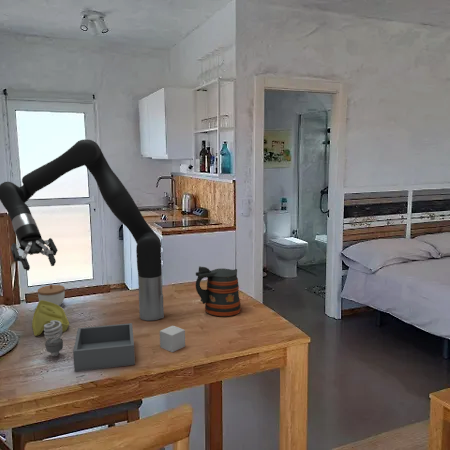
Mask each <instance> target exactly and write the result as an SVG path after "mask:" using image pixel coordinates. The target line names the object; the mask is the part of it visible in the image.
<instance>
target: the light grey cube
mask: <svg viewBox="0 0 450 450" xmlns="http://www.w3.org/2000/svg"><path fill="white" fill-rule="evenodd" d="M185 347H186V330H185V329H184V328H180V327H178V326H175V325H170V326H168V327H166V328H163V329H161V330H159V348H160V349H164V350H165V351H168V352H171V353H174V352H176V351H178V350H180V349H183V348H185Z"/></svg>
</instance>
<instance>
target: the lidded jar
mask: <svg viewBox="0 0 450 450" xmlns="http://www.w3.org/2000/svg"><path fill="white" fill-rule="evenodd" d="M65 289H66V288H65V286H63V285H60V284H48V285H45V286H41V287H40V288H38V289H37V295H38V302H39V301H41V300H44V301H48V302H51V303H54V304H57V305H59V306H60V307H61V305H62V304H63V302H64V300H65V295H66V294H65V293H66V292H65V291H66V290H65Z"/></svg>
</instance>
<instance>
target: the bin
mask: <svg viewBox="0 0 450 450" xmlns="http://www.w3.org/2000/svg"><path fill="white" fill-rule="evenodd" d="M133 331H134V330H133V322H130V323H119V324H108V325H107V324H106V325H97V326H86V327H78V328H77V330H76V336H75V341H74V345H73V351H72V354H73V355H72V356H73V369H74V370H73V372H82V371H90V370H98V369H99V370H101V369H109V368H116V367H117V368H118V367H125V366H134V365H136V361H135V360H136V359H135V341H134V338H135V337H134V332H133Z"/></svg>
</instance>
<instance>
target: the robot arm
mask: <svg viewBox="0 0 450 450" xmlns="http://www.w3.org/2000/svg"><path fill="white" fill-rule="evenodd" d="M83 166H85V167H86V169H87V170H88V171H89V172H90V174H91V176H93V178H94V180H95V182H96V184H97V187H98V189H99V192H100V194H101V196H102V198H103V201H104V202H105V203H106V205H107V207H108V208H109V210H110V211H111V213H112V214H113V216H115V217H116V218H117V219H118V220H119V221H120V222H121V223H122V225H124V226H125V227H126V228H127V229H128V231H129V232H130V234H131V236H132V237H133V239H134V242H135V243H136V249H135V250H136V251H135V252H136V267H137V278H138V279H137V281H138V283H137V284H138V285H137V286H138V303H139V305H138V306H139V307H138V309H139V312H138V313H139V319H140V320H142V321H146V322H147V321H157V320H160V319H164V315H165V313H164V312H165V311H164V308H165V307H164V294H163V269H162V241H161V238H160V237H159V236H158V234H157V233H156V232H155V231H154V229H152V227H151V226H150V225H149V224H148V222H147V221H146V220H145V219H144V216H143V214H142V213H141V211H140V209H139V207H138V205H137V204H136V203H135V201H134V199H133V197H132V195H131V194H130V192H129V191H128V189H127V188H126V187H125V185H124V184H123V182H122V181H121V180H120V179H119V177H118V176H117V175H116V173H115V172H114V170H113V169H112V168H111V166H110V164H109V163H108V161H107V159H106V157H105V155H104V153H103V151H102V149H101V148H100V146H99V144H98V143H97V142H96V141H94V140H92V139H89V138H88V139H86V138H85V139H80V140H78V141H77V142H75V143H74V144H73V145H72V146H71V147H69V149H67V150H66V151H65V152H64V153H62V154H60V155H59V156H58V157H56V158H54V159H53V160H51V161H49V162H47V163H46V164H43V165H41V166H40V167H38V168H36V169H34V170H32V171H30V172H29V173H26V174H25V175H23V177H22V178H21V182H22V185H21V186H18V185H17V184H15V183H14V182H11V181H4V182H2V183H1V184H0V202H1V204H2V206H3V207H4V209H6V211H7V213H8V215H9V218H10V221H11V224H12V227H13V231H14V233H15V236H16V239H17V242H18V244H17V243H14V242H12V244H11V247H10V251H11V253H12V254H11V255H12V257H13V261H14V262H20V263H21V265H22V267H23V269H24V270H25V271H27V272H28V271H30V269H31V266H30V264H29V261H28V258H27V257H28V255H30V256H32V255H34V254H35V255H36V254H39V255H40V254H41V255H42V256H43V255H44V256H46V257H47V259H48V261H49V263H50V266H51V267H54V266H55V265H56V261H57V260H56V258H55V256H56V255H57V253H58V248H57V246H56V243H55V241H54V240H53V238H51V237H50V238H48V239H46V240H44V239H43V238H42V234H41V233H40V230H39V227H38V225H37V223H36V220H35V219H34V217H33V215H32V212H31V210H30V208H29V206H28V204H26V203H27V202H28V201H29V200H30V199H31V198H32V196H34V195H35V194H36V193H37V192H39V191H41V190H43V189H44V188H46V187H47V186H49V185H51V184H52V183H54V182H55V181H57V180H58V179H59V178H61V177H62V176H64V175H65V174H67V173H69V172H71V171H73V170H76V169H78V168H81V167H83ZM19 249H20V250H21V251H23V253H22V255H20V254H19Z"/></svg>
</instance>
